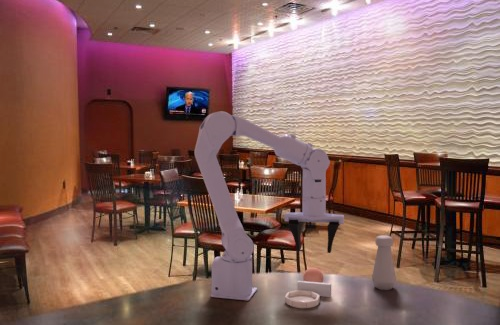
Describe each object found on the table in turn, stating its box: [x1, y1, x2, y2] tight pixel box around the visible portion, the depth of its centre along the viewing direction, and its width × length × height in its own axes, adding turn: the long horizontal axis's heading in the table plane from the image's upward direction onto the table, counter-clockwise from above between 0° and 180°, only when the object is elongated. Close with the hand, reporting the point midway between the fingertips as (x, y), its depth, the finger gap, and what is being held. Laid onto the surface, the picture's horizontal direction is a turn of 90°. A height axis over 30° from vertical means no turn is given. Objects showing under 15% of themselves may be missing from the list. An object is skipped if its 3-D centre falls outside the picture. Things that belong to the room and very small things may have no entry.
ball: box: [302, 267, 324, 283], centre depth 116 cm, size 5×5×5 cm
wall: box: [296, 280, 332, 298], centre depth 111 cm, size 8×1×3 cm, turn 74°
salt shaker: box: [371, 234, 397, 291], centre depth 116 cm, size 6×6×13 cm
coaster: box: [284, 289, 321, 309], centre depth 107 cm, size 8×8×1 cm
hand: (313, 250), depth 116 cm, fingers open, 7 cm apart
